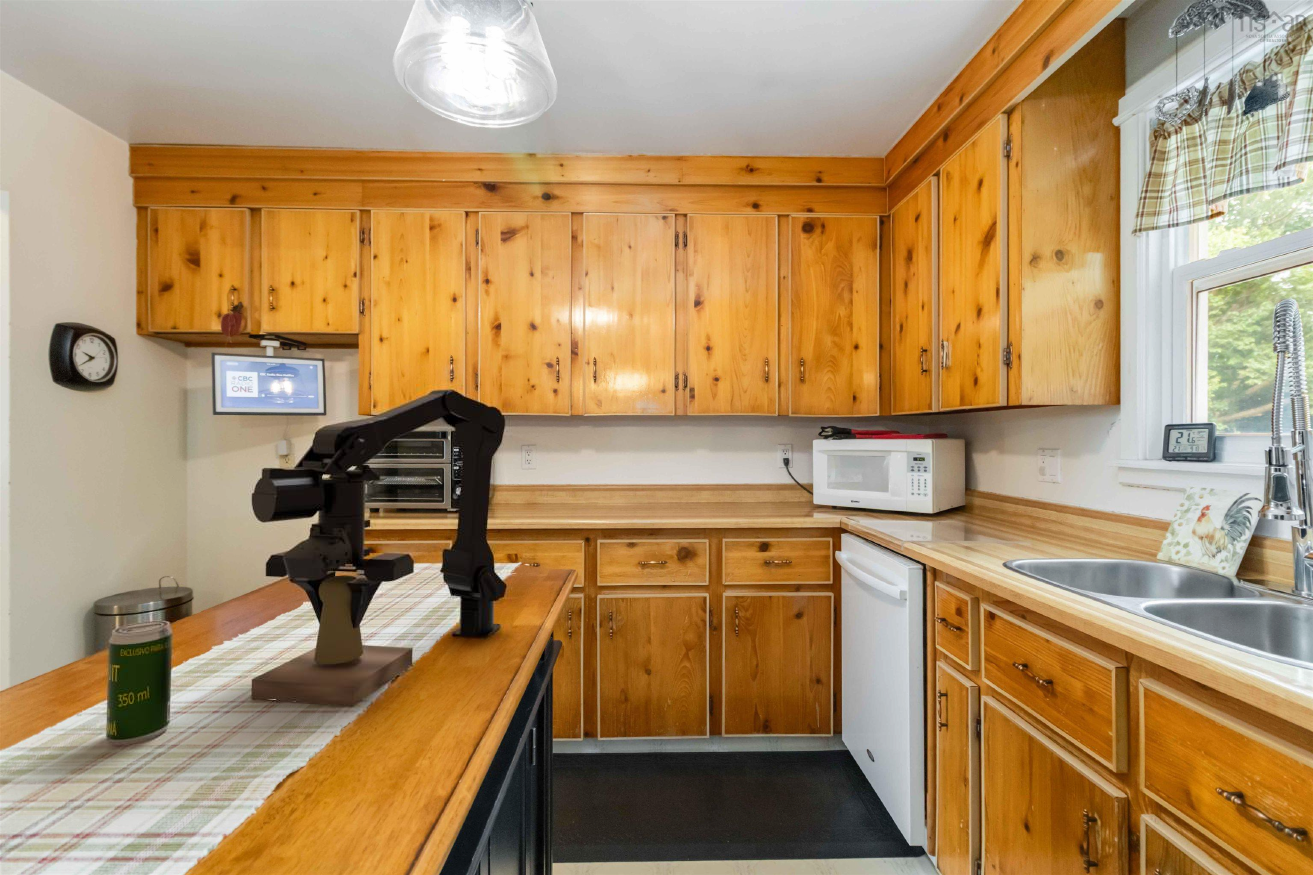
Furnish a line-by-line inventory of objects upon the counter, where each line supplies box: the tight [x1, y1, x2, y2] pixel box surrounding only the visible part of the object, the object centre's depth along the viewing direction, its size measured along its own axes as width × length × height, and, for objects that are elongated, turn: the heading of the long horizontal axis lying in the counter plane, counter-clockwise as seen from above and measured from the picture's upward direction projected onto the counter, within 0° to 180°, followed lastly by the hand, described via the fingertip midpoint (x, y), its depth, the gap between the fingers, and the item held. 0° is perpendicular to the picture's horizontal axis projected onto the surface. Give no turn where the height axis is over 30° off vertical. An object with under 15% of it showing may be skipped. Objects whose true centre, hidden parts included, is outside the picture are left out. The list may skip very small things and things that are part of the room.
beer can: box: [105, 620, 173, 746], centre depth 65 cm, size 5×5×12 cm
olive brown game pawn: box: [314, 574, 363, 664], centre depth 81 cm, size 6×6×11 cm
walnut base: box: [250, 644, 414, 707], centre depth 81 cm, size 14×14×2 cm
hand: (339, 626), depth 81 cm, fingers closed on olive brown game pawn, 4 cm apart
